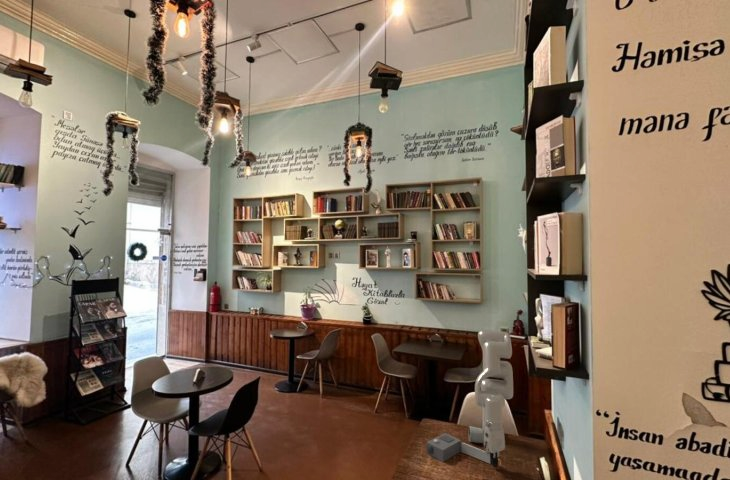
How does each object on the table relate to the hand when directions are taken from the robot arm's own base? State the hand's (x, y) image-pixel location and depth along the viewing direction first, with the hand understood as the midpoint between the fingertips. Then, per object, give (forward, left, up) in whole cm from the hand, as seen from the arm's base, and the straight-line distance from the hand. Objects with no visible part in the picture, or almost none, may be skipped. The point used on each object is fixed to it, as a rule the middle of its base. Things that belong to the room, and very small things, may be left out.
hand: (494, 465), depth 157 cm
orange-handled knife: (-2, -8, -1) cm, 9 cm away
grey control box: (+7, -24, -2) cm, 25 cm away
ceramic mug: (-18, -20, -2) cm, 27 cm away
